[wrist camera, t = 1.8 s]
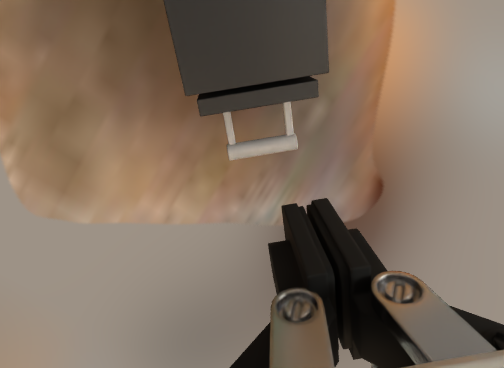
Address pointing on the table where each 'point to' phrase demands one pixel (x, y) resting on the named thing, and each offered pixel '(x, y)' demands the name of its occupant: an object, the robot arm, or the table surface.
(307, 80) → the drawer
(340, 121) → the table surface
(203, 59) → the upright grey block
